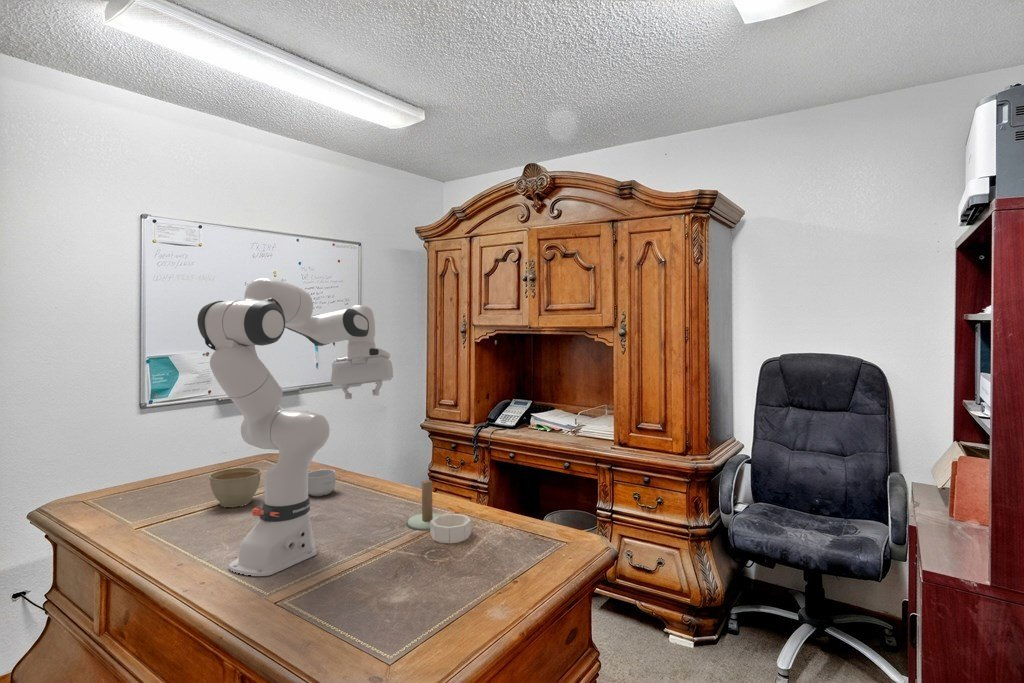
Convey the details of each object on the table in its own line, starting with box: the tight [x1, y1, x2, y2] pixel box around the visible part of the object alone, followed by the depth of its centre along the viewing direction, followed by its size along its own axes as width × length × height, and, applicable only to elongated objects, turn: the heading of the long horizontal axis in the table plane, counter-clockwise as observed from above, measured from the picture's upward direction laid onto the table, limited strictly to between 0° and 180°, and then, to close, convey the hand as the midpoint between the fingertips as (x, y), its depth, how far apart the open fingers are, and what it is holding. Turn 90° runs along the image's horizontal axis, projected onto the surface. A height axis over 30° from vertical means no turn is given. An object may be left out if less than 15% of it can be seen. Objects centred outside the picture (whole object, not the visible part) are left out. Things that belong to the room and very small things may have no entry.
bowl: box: [429, 513, 472, 544], centre depth 158 cm, size 11×11×5 cm
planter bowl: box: [208, 467, 262, 508], centre depth 189 cm, size 16×16×11 cm
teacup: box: [308, 468, 336, 497], centre depth 201 cm, size 14×11×8 cm
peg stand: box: [407, 479, 442, 531], centre depth 168 cm, size 12×12×13 cm
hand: (362, 397), depth 173 cm, fingers open, 8 cm apart
